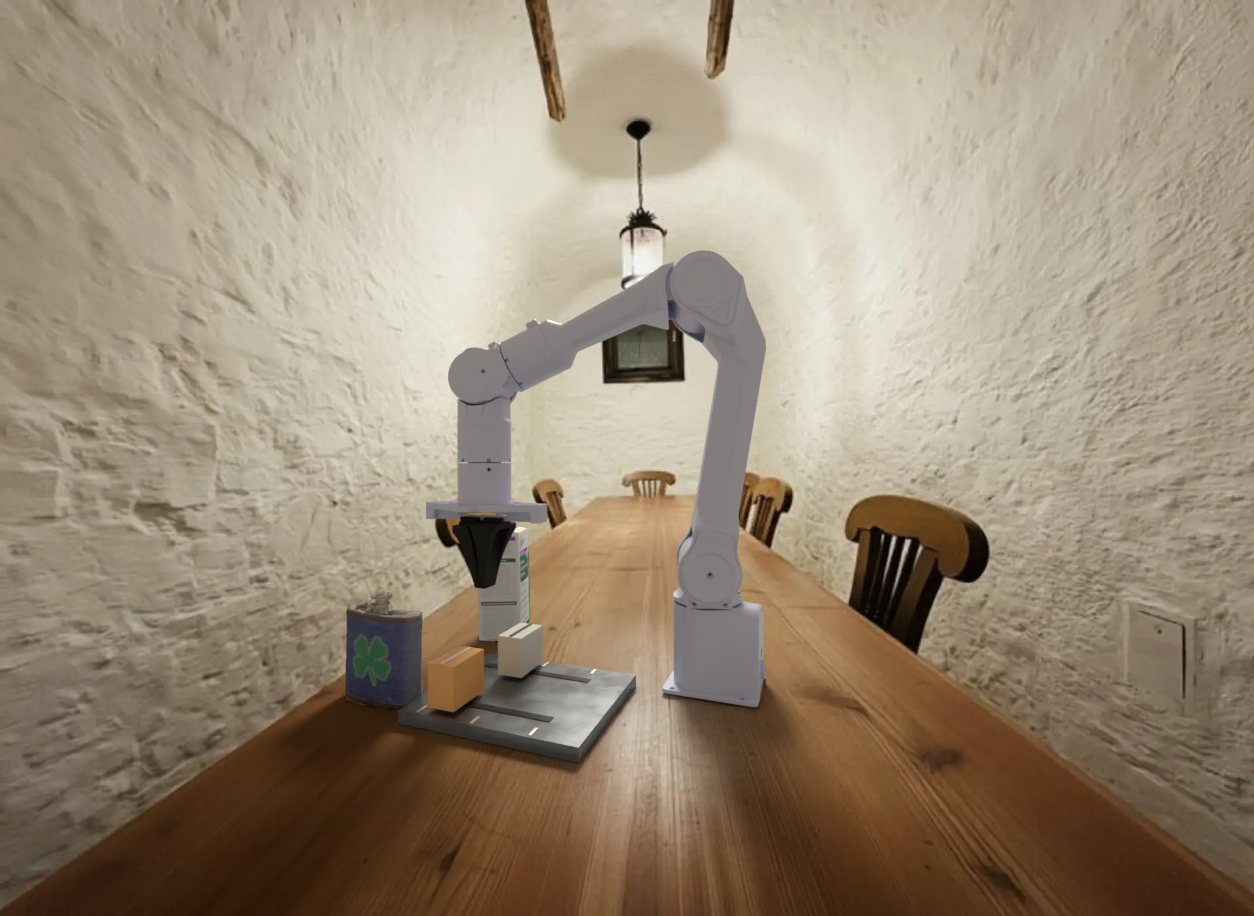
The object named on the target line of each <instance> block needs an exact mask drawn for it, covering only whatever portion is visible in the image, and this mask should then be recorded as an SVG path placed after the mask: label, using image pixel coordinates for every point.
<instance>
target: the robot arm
mask: <svg viewBox="0 0 1254 916" xmlns="http://www.w3.org/2000/svg"><path fill="white" fill-rule="evenodd" d="M745 283H746V282H745V279H744V276H743V275H742V274H741V272H739V271H738V270H737V269H736V268H735V267H734V266H733V265H732V264H731V263H730V262H729V261H728V260H727V259H726V258H725V257H723V256H722V255H720V254H719V253H717V252H714V251H711V250H704V249H703V250H702V249H701V250H696V251H692V252H690V253H688V254H686V255H684V256H682V258H680V259H679V260H678V261H677V262H676V265H675V261H671V262H667V263H664V264H661V265H660V266H659V267H657V268H656V269H655V270H653V271H652V272H651V273H649V274H647V275H646V276H645V277H643V278H642V279H640V280H639V281H637V282H635V283H633V284H632V285H630V286H628V287H627V288H625V289H623V290H621V291H618V292H617V293H616V294H613V296H610V297H609V298H607V299H605V300H603V301H602V302H599V303H598V304H597V305H595V306H593V307H591V308H589V309H587V310H585V311H584V312H582V313H580V314H579V315H577V316H575V317H574V318H571V319H570V320H568V321H567V322H564V323H559V322H556V321H553V320H550V319H545V320H543V321H541V322H539V321H538V320H537V319H533V320H530V321H528V322H526V324H525V326H526V329H525V330H522V331H521V332H519V333H517V334H515V335H513V336H511V337H508V338H507V339H504V340H503V341H501V342H499V343H498V341H492V342H490V343H489V344H488V345H487V347H488V349H485V348H482V347H476V346H474V347H468V348H465V350H464V351H462V352H461V353H459V354H458V355H457V356H456V357H455V358H454V359H453V361H452V362H451V364H450V366H449V369H448V374H447V380H448V382H447V383H448V385H449V388H450V390H451V391H452V393H453V394H454V396H456V397H457V401H456V402H457V421H456V423H457V425H456V427H457V430H456V432H457V436H456V437H457V442H456V443H457V445H456V446H457V448H456V449H457V455H456V456H457V457H456V458H457V462H456V463H457V500H433V501H425V519H426V520H435V519H436V520H437V519H445V520H446V519H447V520H459V522H458V523H457V524H454V525H452V526H451V527H452V528H451V530H452V534H453V535H454V536H455V538H456V540H457V541H458V543H459V545H460V546H461V549H462V551H463V553H464V555H465V558H466V561H467V563H468V568H469V571H470V574H471V579H472V581H473V586H474V588H475V589H478V588H482V589H486V588H488V587H491V586H493V585H495V584H496V579H497V574H498V570H499V566H500V563H501V559H502V556H503V553H504V551H505V548H506V546H507V544H508V541H509V539H510V537H511V536H512V534H513V532H514V530H515V529H516V526H517V523H518V522H519V523H529V524H541V523H546V522H548V503H540V502H539V503H538V502H537V503H536V502H522V501H513V500H512V422H511V421H512V420H511V405H512V403H513V402H514V401H515V399H516V398H517V395H518V393H519V392H520V393H523V392H524V391H527V390H528V389H530V388H533V387H535V386H537V385H538V384H541V383H543V382H545V381H547V380H549V379H551V378H553V377H555V376H557V375H559V374H561V373H564V372H565V371H567V370H570V369H571V368H572V366H573V364H574V361H575V359H576V356H577V354H578V352H579V353H580V352H581V351H583V350H585V349H588V348H590V347H592V346H595V345H598V344H599V343H602V342H604V341H607V340H608V339H611V338H613V337H616V336H618V335H620V334H623V333H624V332H626V331H629V330H632V329H634V328H636V327H639V326H641V325H646V326H650V327H655V328H658V329H662V330H667V331H669V329H670V323H669V320H670V321H671V320H672V323H673V324H674V325H675V327H676V328H677V329H678V330H679V331H680V332H682V334H684V335H686V336H688V337H689V338H691V339H693V340H695V341H697V342H699V343H700V344H701V345H702V346H703V347H704V348H705V349H706V350H707V352H709V354H710V355H711V357H713V359H714V360H716V363H717V368H716V369H717V370H716V375H715V379H714V380H715V382H714V386H713V392H712V393H713V394H712V400H711V405H710V411H709V416H708V424H707V429H706V436H705V442H704V448H703V453H702V459H701V464H700V466H701V467H700V472H699V478H698V484H697V491H696V496H695V503H694V507H693V510H692V514H691V519H690V525H689V529H688V532H687V534H686V535H685V537H684V538H683V539H682V540H681V542H680V543H679V545H678V548H677V552H676V562H677V570H676V571H677V572H676V573H677V575H676V576H677V582H678V585H679V586H678V588H676V589H675V590H674V591H673V592H672V601H673V602H672V604H673V606H672V611H673V613H672V614H673V616H672V617H673V618H672V619H673V626H672V627H673V629H672V630H673V632H672V633H673V634H672V635H673V638H672V639H673V642H672V643H673V670H672V671H671V673H670V675H669V676H668V677H667V679H666V681H665V683H664V684H663V686H662V688H661V689H662V690H661V691H662V693H664V694H666V695H667V694H668V695H674V696H681V697H686V698H691V699H700V700H706V701H712V702H718V703H723V704H731V705H738V706H744V707H748V708H749V707H750V708H757V707H759V705H760V699H761V694H762V690H763V684H764V680H765V679H766V671H767V670H766V668H767V667H766V659H764V657H765V656H764V655H765V652H764V651H765V650H764V645H765V643H764V642H765V641H764V634H765V633H764V611H763V610H764V608H763V605H762V604H759V603H753V602H748V601H746V600H743V595H742V594H741V593H742V592H741V591H740V589H741V587H742V583H743V578H744V577H743V574H744V571H743V567H742V564H741V561H740V558H739V553H738V547H739V540H740V539H739V538H740V518H739V516H740V515H739V513H740V507H741V501H742V495H743V490H744V484H745V477H746V471H747V465H748V460H749V453H750V448H751V442H752V441H751V440H752V437H753V436H752V435H753V430H754V423H755V418H756V412H757V406H758V398H759V395H760V393H759V392H760V387H761V381H762V377H763V376H762V375H763V370H764V363H765V358H766V351H767V341H766V337H765V335H764V332H763V330H762V328H761V325H760V322H759V321H758V317H757V316H756V313H755V310H754V309H753V306H752V304H751V302H750V299H749V297H748V293H747V289H746V284H745ZM484 514H485V515H484ZM489 514H490V515H489ZM491 514H495V515H491Z"/></svg>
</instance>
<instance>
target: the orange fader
mask: <svg viewBox="0 0 1254 916" xmlns="http://www.w3.org/2000/svg"><path fill="white" fill-rule="evenodd" d="M484 650H485V649H484V648H480V647H479V648H477V647H472V646H464V645H459V646H457V647H455V648H453V649H450V650H449V651H447V652H446V653H443V654H441V655H440V656H438V657H436V658H434V659H433V660H430V661H428V662H427V692H428V707H429V708H434V709H439V710H444V711H449V712H455V711H456V710H458V709H459V708H460V707H462V706H463V705H465V704H466V703H467V702H469V701H470V700H472V699H473V698H474V697H476V696H477V695H479V694H480V693H481V692H483V691H484V657H485V651H484Z"/></svg>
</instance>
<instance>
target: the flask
mask: <svg viewBox="0 0 1254 916" xmlns="http://www.w3.org/2000/svg"><path fill="white" fill-rule="evenodd" d="M369 597H370V598H371V600H375V602H371V600H366V601H365V602H360V603H357V604H353V605H350V606H348V607H347V608H346V612H345V613H346V615H345V616H346V635H345V638H346V643H345V644H346V645H345V647H346V649H345V650H346V652H345V653H346V654H345V684H344V685H345V691H344V693H345V694H344V697H346V698H345V699H346V700H348V701H350V702H353V703H355V704H358V705H361V706H366V707H367V706H371V707H373V708H378V709H384V710H392V711H395V712H397V711H398V710H399V709H400V708H402V707H404V706H405V705H407V704H408V703H410V702H412V701H413V700H415V699H417V698H418V697H420V696H422V695H423V694H424V691H423V690H424V687H423V654H422V652H423V647H422V645H423V612H422V611H419V610H404V609H395V608H390V605H391V601H390V600H391V599H392V598H393V592H392V593H391V592H390V591H387V592H386V594H385V593H382V592H376V593H374V592H373V593H371V594H370V596H369ZM396 710H397V711H396Z"/></svg>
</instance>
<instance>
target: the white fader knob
mask: <svg viewBox="0 0 1254 916" xmlns="http://www.w3.org/2000/svg"><path fill="white" fill-rule="evenodd" d="M530 623H531V622H530ZM530 623H529V624H528V623H519V624H517V625H516V626H514V627H512V628H510V629H509V630H507V631H505V632H503V633H502V634H500V635H498V642H497V654H498V674H500V675H506V676H512V677H518V678H522V677H523V676H525V675H526V674H527V673H529V672H530V671H531V670H532V669H534V668H535V667H536V666H538V665H539V664H540V663H542V662H543V661H544V655H543V654H544V651H543V650H544V642H543V641H544V636H543V634H544V632H543V628H544V627H543V625H542V624H536V623H535V624H533V623H531V624H530Z"/></svg>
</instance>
